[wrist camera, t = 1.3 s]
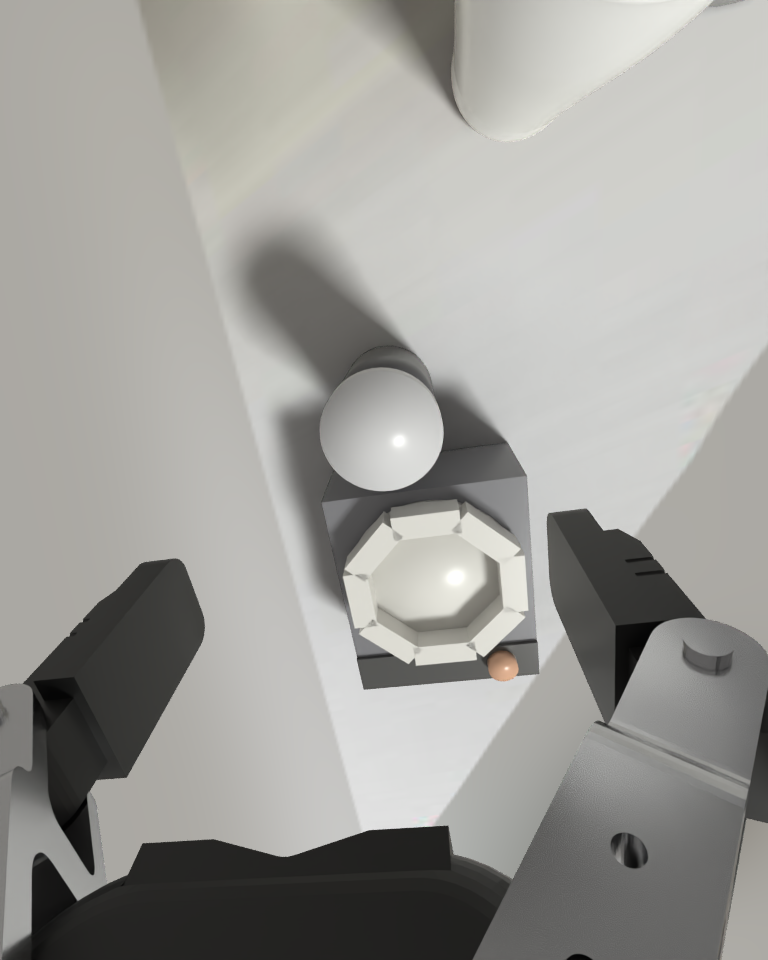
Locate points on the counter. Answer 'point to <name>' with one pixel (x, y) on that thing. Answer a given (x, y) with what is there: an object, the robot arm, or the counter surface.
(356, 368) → the dark capped cylinder
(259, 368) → the counter surface
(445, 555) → the block with octagonal ring
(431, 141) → the counter surface
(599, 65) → the drinking glass
